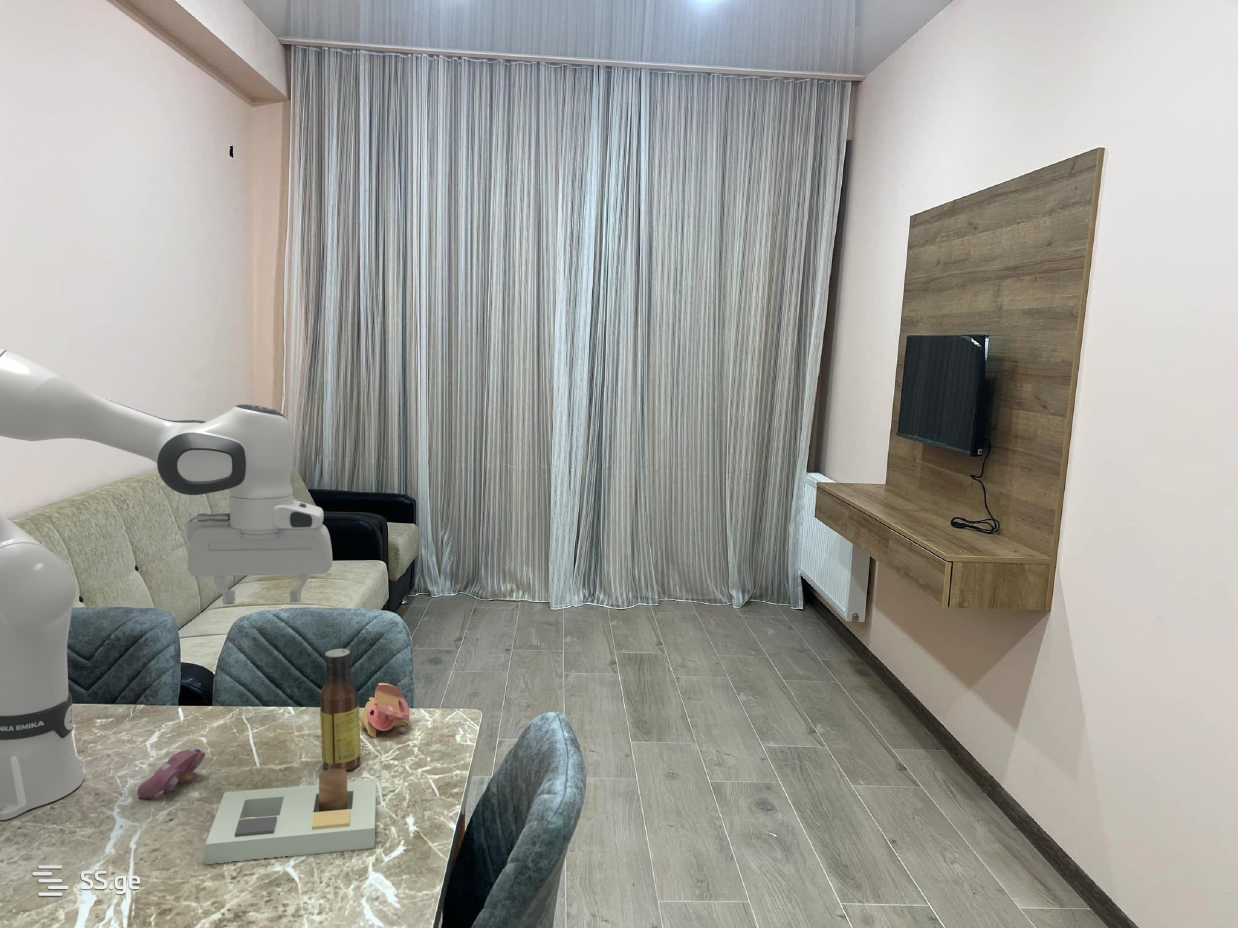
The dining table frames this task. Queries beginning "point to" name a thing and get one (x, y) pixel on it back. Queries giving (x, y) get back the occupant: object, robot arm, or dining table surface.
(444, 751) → the dining table surface
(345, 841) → the socket block
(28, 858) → the dining table surface
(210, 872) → the dining table surface
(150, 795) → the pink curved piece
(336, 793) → the plug
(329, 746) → the sauce bottle
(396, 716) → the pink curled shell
